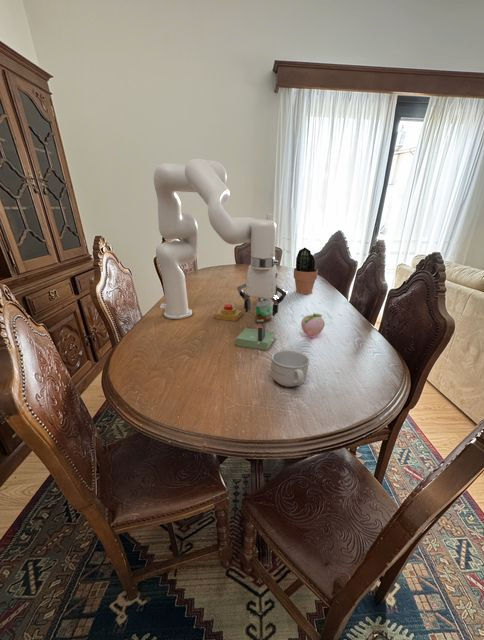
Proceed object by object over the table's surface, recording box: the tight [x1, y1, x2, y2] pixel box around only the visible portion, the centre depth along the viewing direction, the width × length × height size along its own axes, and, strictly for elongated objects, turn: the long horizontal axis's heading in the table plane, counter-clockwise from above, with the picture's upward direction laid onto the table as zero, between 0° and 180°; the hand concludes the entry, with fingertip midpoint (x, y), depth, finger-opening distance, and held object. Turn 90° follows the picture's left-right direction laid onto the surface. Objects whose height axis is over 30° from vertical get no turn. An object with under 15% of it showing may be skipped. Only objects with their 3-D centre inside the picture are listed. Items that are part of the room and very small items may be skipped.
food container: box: [255, 298, 274, 324], centre depth 126 cm, size 12×6×10 cm, turn 168°
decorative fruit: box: [300, 313, 326, 337], centre depth 111 cm, size 9×8×10 cm
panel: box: [235, 327, 276, 351], centre depth 106 cm, size 13×12×3 cm
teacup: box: [270, 349, 310, 388], centre depth 82 cm, size 14×11×8 cm
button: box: [223, 303, 233, 310], centre depth 129 cm, size 4×4×2 cm
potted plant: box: [293, 247, 319, 295], centre depth 162 cm, size 14×14×25 cm
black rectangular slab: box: [257, 323, 266, 342], centre depth 102 cm, size 4×1×5 cm, turn 163°
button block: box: [214, 305, 243, 322], centre depth 130 cm, size 10×8×4 cm
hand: (261, 312), depth 99 cm, fingers open, 9 cm apart
